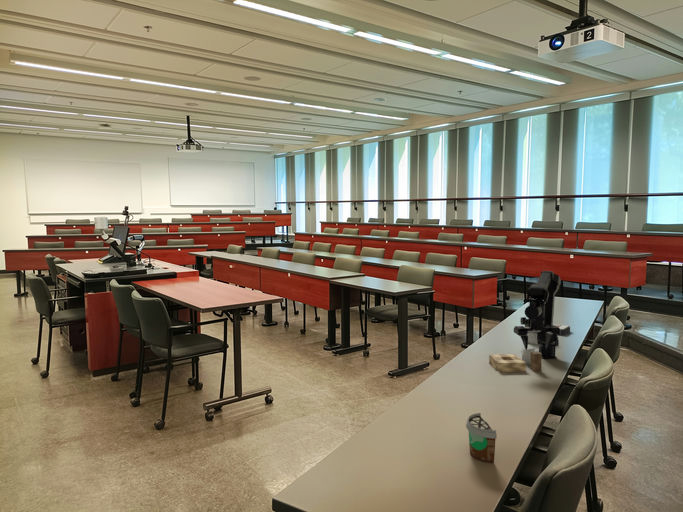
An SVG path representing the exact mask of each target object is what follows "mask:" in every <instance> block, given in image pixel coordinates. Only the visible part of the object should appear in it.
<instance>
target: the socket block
mask: <svg viewBox="0 0 683 512" xmlns="http://www.w3.org/2000/svg"><path fill="white" fill-rule="evenodd" d="M488 361H489V363H488V364H489V365H491V367H493V368H494V370H495V371H497V372H499V373H508V372H509V373H510V372H511V373H515V372H527V371H526V369H527V365H526V362H525V361H523V360H522V357H519V356H518V355H517V354H515V353H512V354H511V353H509V354H508V353H507V354H505V353H503V354H489V355H488Z"/></svg>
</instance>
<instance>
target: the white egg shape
mask: <svg viewBox="0 0 683 512" xmlns="http://www.w3.org/2000/svg"><path fill="white" fill-rule="evenodd" d="M521 349H522V350H521V359H522V360H523V361H525V362H526V364H527V365H529V366H530V362H531V352H536V348H535V347H534V346H533V347H532V346H528V348H527V350H526V349H525V347H524V346H522V347H521ZM527 365H526V366H527Z"/></svg>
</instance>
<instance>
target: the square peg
mask: <svg viewBox="0 0 683 512" xmlns="http://www.w3.org/2000/svg"><path fill="white" fill-rule="evenodd" d="M542 362H543V358H542V354H541V353H540V352H539V350H538V351H535V352H531V362H530V365H529V366H530V367H529V368H530V370H531V371H532V372H533V373H534V372H535V373H536V372H540V371H541V372H542V367H543V366H542Z"/></svg>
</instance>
